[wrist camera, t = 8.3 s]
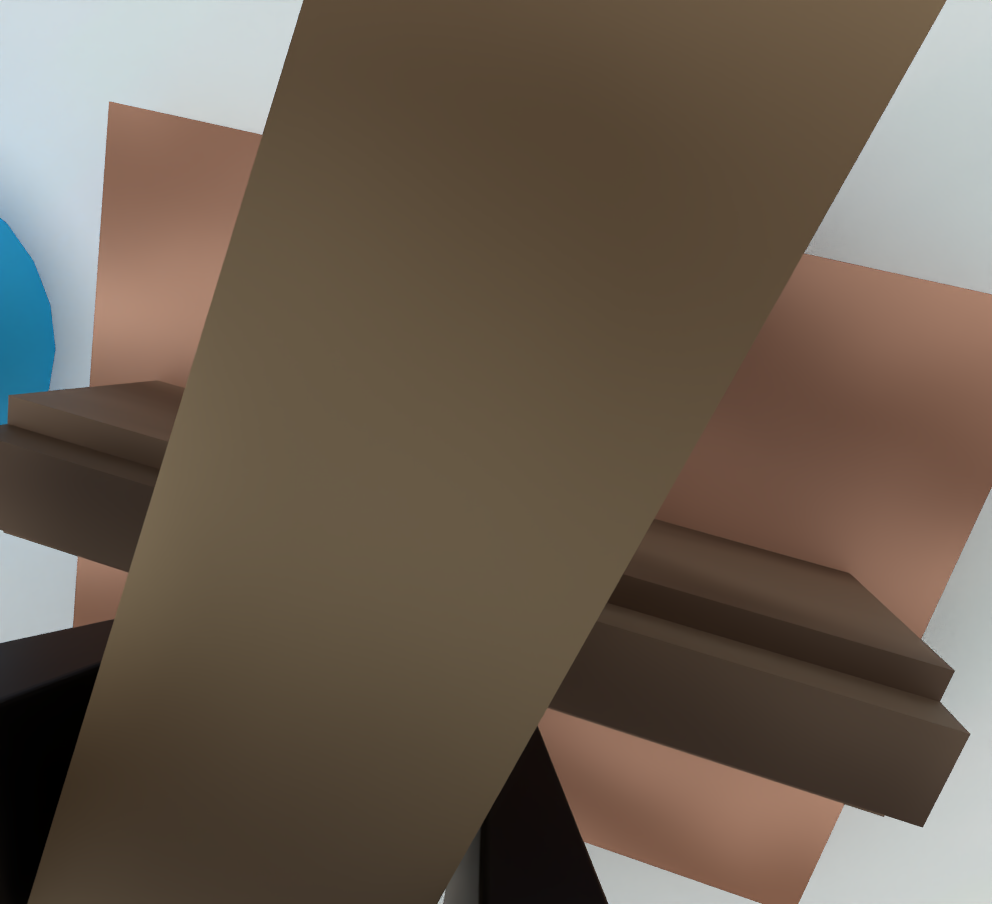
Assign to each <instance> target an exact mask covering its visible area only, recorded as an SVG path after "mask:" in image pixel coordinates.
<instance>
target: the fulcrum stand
mask: <svg viewBox="0 0 992 904" xmlns="http://www.w3.org/2000/svg"><path fill="white" fill-rule="evenodd" d="M261 138H262V135H260V134H256V133H251V132H246V131H242V130H237V129H233V128H228V127H224V126H219V125H215V124H210V123H205V122H201V121H196V120H192V119H187V118H183V117H178V116H173V115H169V114H164V113H160V112H155V111H151V110H146V109H141V108H137V107H132V106H128V105H123V104H119V103H114V102H109V111H108V126H107V140H106V155H105V169H104V184H103V198H102V213H101V227H100V242H99V257H98V271H97V286H96V300H95V315H94V329H93V344H92V358H91V373H90V387H85V388H75V389H65V390H55V391H45V392H35V393H25V394H15V395H8V421H7V424H3V425H0V530H3V531H4V533H7V534H10V535H14V536H17V537H20V538H23V539H26V540H29V541H32V542H35V543H38V544H41V545H44V546H48V547H51V548H54V549H57V550H60V551H63V552H66V553H69V554H72V555H75V556H78V562H77V576H76V591H75V605H74V620H73V628H74V627H79V626H83V625H88V624H93V623H97V622H102V621H107V620H111V619H115V615H116V612H117V609H118V606H119V602H120V599H121V596H122V593H123V589H124V586H125V583H126V579H127V576H128V573H129V570H130V566H131V563H132V560H133V557H134V553H135V550H136V547H137V543H138V540H139V537H140V534H141V530H142V527H143V524H144V521H145V517H146V514H147V511H148V507H149V504H150V501H151V498H152V494H153V491H154V488H155V485H156V481H157V478H158V475H159V471H160V468H161V465H162V462H163V458H164V455H165V452H166V449H167V445H168V442H169V439H170V436H171V432H172V429H173V426H174V422H175V419H176V416H177V413H178V409H179V406H180V403H181V400H182V396H183V393H184V390H185V386H186V383H187V380H188V377H189V373H190V370H191V367H192V364H193V360H194V357H195V354H196V350H197V347H198V344H199V341H200V337H201V334H202V331H203V328H204V324H205V321H206V318H207V314H208V311H209V308H210V305H211V301H212V298H213V295H214V292H215V288H216V285H217V282H218V278H219V275H220V272H221V269H222V265H223V262H224V259H225V256H226V252H227V249H228V246H229V242H230V239H231V236H232V233H233V229H234V226H235V223H236V220H237V216H238V213H239V210H240V206H241V203H242V200H243V197H244V193H245V190H246V187H247V184H248V180H249V177H250V174H251V170H252V167H253V164H254V161H255V157H256V154H257V151H258V148H259V144H260V141H261ZM991 487H992V295H991V294H987V293H982V292H978V291H973V290H969V289H964V288H959V287H955V286H950V285H946V284H941V283H937V282H932V281H927V280H923V279H918V278H914V277H909V276H905V275H900V274H895V273H891V272H886V271H882V270H877V269H873V268H868V267H863V266H859V265H854V264H850V263H845V262H841V261H836V260H831V259H827V258H822V257H818V256H813V255H809V254H803V256H802V257H801V259H800V261H799V263H798V264H797V266H796V268H795V270H794V272H793V273H792V275H791V277H790V279H789V280H788V282H787V284H786V286H785V288H784V289H783V291H782V293H781V295H780V296H779V298H778V300H777V302H776V303H775V305H774V307H773V309H772V311H771V312H770V314H769V316H768V318H767V319H766V321H765V323H764V325H763V327H762V328H761V330H760V332H759V334H758V335H757V337H756V339H755V341H754V343H753V344H752V346H751V348H750V350H749V351H748V353H747V355H746V357H745V358H744V360H743V362H742V364H741V366H740V367H739V369H738V371H737V373H736V374H735V376H734V378H733V380H732V382H731V383H730V385H729V387H728V389H727V390H726V392H725V394H724V396H723V397H722V399H721V401H720V403H719V405H718V406H717V408H716V410H715V412H714V413H713V415H712V417H711V419H710V421H709V422H708V424H707V426H706V428H705V429H704V431H703V433H702V435H701V437H700V438H699V440H698V442H697V444H696V445H695V447H694V449H693V451H692V452H691V454H690V456H689V458H688V460H687V461H686V463H685V465H684V467H683V468H682V470H681V472H680V474H679V476H678V477H677V479H676V481H675V483H674V484H673V486H672V488H671V490H670V491H669V493H668V495H667V497H666V499H665V500H664V502H663V504H662V506H661V507H660V509H659V511H658V513H657V515H656V516H655V518H654V520H653V522H652V523H651V525H650V527H649V529H648V530H647V532H646V534H645V536H644V538H643V539H642V541H641V543H640V545H639V546H638V548H637V550H636V552H635V554H634V555H633V557H632V559H631V561H630V562H629V564H628V566H627V568H626V570H625V571H624V573H623V575H622V577H621V578H620V580H619V582H618V584H617V585H616V587H615V589H614V591H613V593H612V594H611V596H610V598H609V600H608V601H607V603H606V605H605V607H604V609H603V610H602V612H601V614H600V616H599V617H598V619H597V621H596V623H595V624H594V626H593V628H592V630H591V632H590V633H589V635H588V637H587V639H586V640H585V642H584V644H583V646H582V648H581V649H580V651H579V653H578V655H577V656H576V658H575V660H574V662H573V664H572V665H571V667H570V669H569V671H568V672H567V674H566V676H565V678H564V679H563V681H562V683H561V685H560V687H559V688H558V690H557V692H556V694H555V695H554V697H553V699H552V701H551V703H550V704H549V706H548V708H547V710H546V711H545V713H544V715H543V717H542V718H541V720H540V722H539V724H538V728H539V730H540V733H541V736H542V738H543V741H544V743H545V746H546V748H547V751H548V753H549V756H550V758H551V761H552V763H553V766H554V768H555V771H556V773H557V776H558V778H559V781H560V783H561V786H562V788H563V791H564V793H565V796H566V799H567V801H568V804H569V806H570V809H571V811H572V814H573V816H574V819H575V821H576V824H577V826H578V829H579V831H580V834H581V836H582V839H583V841H584V842H586V843H589V844H592V845H595V846H598V847H601V848H604V849H606V850H609V851H612V852H615V853H618V854H621V855H624V856H627V857H629V858H632V859H635V860H638V861H641V862H644V863H647V864H650V865H652V866H655V867H658V868H661V869H664V870H667V871H670V872H673V873H675V874H678V875H681V876H684V877H687V878H690V879H693V880H696V881H698V882H701V883H704V884H707V885H710V886H713V887H716V888H719V889H721V890H724V891H727V892H730V893H733V894H736V895H739V896H742V897H744V898H747V899H750V900H753V901H756V902H759V903H762V904H798V903H799V901H800V899H801V897H802V894H803V892H804V890H805V888H806V886H807V884H808V882H809V879H810V877H811V875H812V873H813V871H814V869H815V866H816V864H817V862H818V860H819V858H820V856H821V854H822V851H823V849H824V847H825V845H826V843H827V841H828V838H829V836H830V834H831V832H832V830H833V828H834V826H835V823H836V821H837V819H838V817H839V815H840V813H841V810H842V808H843V806H844V804H846V805H849V806H852V807H855V808H858V809H861V810H864V811H867V812H871V813H874V814H877V815H880V816H883V817H884V815H886V816H889V817H892V818H895V819H898V820H901V821H904V822H907V823H910V824H913V825H917V826H920V827H923V826H924V824H925V822H926V820H927V818H928V816H929V814H930V812H931V810H932V808H933V806H934V804H935V802H936V800H937V798H938V796H939V794H940V792H941V791H942V789H943V787H944V785H945V783H946V781H947V779H948V777H949V775H950V773H951V771H952V769H953V767H954V765H955V763H956V761H957V759H958V757H959V755H960V753H961V751H962V749H963V747H964V745H965V743H966V741H967V740H968V738H969V736H970V733H969V732H968V731H967V730H966V729H965V728H964V727H963V726H962V725H961V724H960V723H959V722H958V721H957V719H956V718H955V717H954V716H953V715H952V714H951V713H950V712H949V711H948V710H947V709H946V708H945V707H944V706H943V705H942V704H941V703H940V700H941V698H942V696H943V694H944V692H945V690H946V688H947V686H948V684H949V682H950V680H951V678H952V676H953V673H954V670H953V669H952V668H951V667H950V666H949V665H948V664H947V663H946V662H945V661H944V660H943V659H942V658H940V657H939V656H938V655H937V654H936V653H935V652H934V651H933V650H932V649H931V648H930V647H929V646H928V645H926V644H925V643H924V642H923V641H922V640H921V638H922V636H923V634H924V632H925V629H926V627H927V625H928V623H929V621H930V619H931V617H932V614H933V612H934V610H935V608H936V606H937V604H938V601H939V599H940V597H941V595H942V593H943V591H944V589H945V586H946V584H947V582H948V580H949V578H950V576H951V573H952V571H953V569H954V567H955V565H956V563H957V561H958V558H959V556H960V554H961V552H962V550H963V548H964V545H965V543H966V541H967V539H968V537H969V535H970V533H971V530H972V528H973V526H974V524H975V522H976V520H977V517H978V515H979V513H980V511H981V509H982V507H983V505H984V502H985V500H986V498H987V496H988V494H989V492H990V489H991Z"/></svg>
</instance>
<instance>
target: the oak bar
mask: <svg viewBox="0 0 992 904" xmlns="http://www.w3.org/2000/svg"><path fill="white" fill-rule="evenodd" d="M945 2H946V0H303V4H302V7H301V10H300V13H299V17H298V20H297V23H296V27H295V30H294V33H293V36H292V40H291V43H290V46H289V49H288V53H287V56H286V59H285V63H284V66H283V69H282V72H281V76H280V79H279V82H278V85H277V89H276V92H275V95H274V99H273V102H272V105H271V108H270V112H269V115H268V118H267V121H266V125H265V128H264V131H263V135H262V138H261V141H260V144H259V148H258V151H257V154H256V157H255V161H254V164H253V167H252V170H251V174H250V177H249V180H248V184H247V187H246V190H245V193H244V197H243V200H242V203H241V206H240V210H239V213H238V216H237V220H236V223H235V226H234V229H233V233H232V236H231V239H230V242H229V246H228V249H227V252H226V256H225V259H224V262H223V265H222V269H221V272H220V275H219V278H218V282H217V285H216V288H215V292H214V295H213V298H212V301H211V305H210V308H209V311H208V314H207V318H206V321H205V324H204V328H203V331H202V334H201V337H200V341H199V344H198V347H197V350H196V354H195V357H194V360H193V364H192V367H191V370H190V373H189V377H188V380H187V383H186V386H185V390H184V393H183V396H182V400H181V403H180V406H179V409H178V413H177V416H176V419H175V422H174V426H173V429H172V432H171V436H170V439H169V442H168V445H167V449H166V452H165V455H164V458H163V462H162V465H161V468H160V471H159V475H158V478H157V481H156V485H155V488H154V491H153V494H152V498H151V501H150V504H149V507H148V511H147V514H146V517H145V521H144V524H143V527H142V530H141V534H140V537H139V540H138V543H137V547H136V550H135V553H134V557H133V560H132V563H131V566H130V570H129V573H128V576H127V579H126V583H125V586H124V589H123V593H122V596H121V599H120V602H119V606H118V609H117V612H116V615H115V619H114V622H113V625H112V629H111V632H110V635H109V638H108V642H107V645H106V648H105V651H104V655H103V658H102V661H101V665H100V668H99V671H98V674H97V678H96V681H95V684H94V687H93V691H92V694H91V697H90V701H89V704H88V707H87V710H86V714H85V717H84V720H83V723H82V727H81V730H80V733H79V737H78V740H77V743H76V746H75V750H74V753H73V756H72V759H71V763H70V766H69V769H68V772H67V776H66V779H65V782H64V786H63V789H62V792H61V795H60V799H59V802H58V805H57V808H56V812H55V815H54V818H53V822H52V825H51V828H50V831H49V835H48V838H47V841H46V844H45V848H44V851H43V854H42V858H41V861H40V864H39V867H38V871H37V874H36V877H35V880H34V884H33V887H32V890H31V894H30V897H29V900H28V903H27V904H437V903H438V901H439V899H440V898H441V896H442V894H443V892H444V891H445V889H446V887H447V885H448V883H449V882H450V880H451V878H452V876H453V875H454V873H455V871H456V869H457V867H458V866H459V864H460V862H461V860H462V859H463V857H464V855H465V853H466V851H467V850H468V848H469V846H470V844H471V843H472V841H473V839H474V837H475V836H476V834H477V832H478V830H479V828H480V827H481V825H482V823H483V821H484V820H485V818H486V816H487V814H488V812H489V811H490V809H491V807H492V805H493V804H494V802H495V800H496V798H497V797H498V795H499V793H500V791H501V789H502V788H503V786H504V784H505V782H506V781H507V779H508V777H509V775H510V773H511V772H512V770H513V768H514V766H515V765H516V763H517V761H518V759H519V757H520V756H521V754H522V752H523V750H524V749H525V747H526V745H527V743H528V742H529V740H530V738H531V736H532V734H533V733H534V731H535V729H536V727H537V726H538V724H539V722H540V720H541V718H542V717H543V715H544V713H545V711H546V710H547V708H548V706H549V704H550V703H551V701H552V699H553V697H554V695H555V694H556V692H557V690H558V688H559V687H560V685H561V683H562V681H563V679H564V678H565V676H566V674H567V672H568V671H569V669H570V667H571V665H572V664H573V662H574V660H575V658H576V656H577V655H578V653H579V651H580V649H581V648H582V646H583V644H584V642H585V640H586V639H587V637H588V635H589V633H590V632H591V630H592V628H593V626H594V624H595V623H596V621H597V619H598V617H599V616H600V614H601V612H602V610H603V609H604V607H605V605H606V603H607V601H608V600H609V598H610V596H611V594H612V593H613V591H614V589H615V587H616V585H617V584H618V582H619V580H620V578H621V577H622V575H623V573H624V571H625V570H626V568H627V566H628V564H629V562H630V561H631V559H632V557H633V555H634V554H635V552H636V550H637V548H638V546H639V545H640V543H641V541H642V539H643V538H644V536H645V534H646V532H647V530H648V529H649V527H650V525H651V523H652V522H653V520H654V518H655V516H656V515H657V513H658V511H659V509H660V507H661V506H662V504H663V502H664V500H665V499H666V497H667V495H668V493H669V491H670V490H671V488H672V486H673V484H674V483H675V481H676V479H677V477H678V476H679V474H680V472H681V470H682V468H683V467H684V465H685V463H686V461H687V460H688V458H689V456H690V454H691V452H692V451H693V449H694V447H695V445H696V444H697V442H698V440H699V438H700V437H701V435H702V433H703V431H704V429H705V428H706V426H707V424H708V422H709V421H710V419H711V417H712V415H713V413H714V412H715V410H716V408H717V406H718V405H719V403H720V401H721V399H722V397H723V396H724V394H725V392H726V390H727V389H728V387H729V385H730V383H731V382H732V380H733V378H734V376H735V374H736V373H737V371H738V369H739V367H740V366H741V364H742V362H743V360H744V358H745V357H746V355H747V353H748V351H749V350H750V348H751V346H752V344H753V343H754V341H755V339H756V337H757V335H758V334H759V332H760V330H761V328H762V327H763V325H764V323H765V321H766V319H767V318H768V316H769V314H770V312H771V311H772V309H773V307H774V305H775V303H776V302H777V300H778V298H779V296H780V295H781V293H782V291H783V289H784V288H785V286H786V284H787V282H788V280H789V279H790V277H791V275H792V273H793V272H794V270H795V268H796V266H797V264H798V263H799V261H800V259H801V257H802V256H803V254H804V252H805V250H806V249H807V247H808V245H809V243H810V241H811V240H812V238H813V236H814V234H815V233H816V231H817V229H818V227H819V225H820V224H821V222H822V220H823V218H824V217H825V215H826V213H827V211H828V209H829V208H830V206H831V204H832V202H833V201H834V199H835V197H836V195H837V194H838V192H839V190H840V188H841V186H842V185H843V183H844V181H845V179H846V178H847V176H848V174H849V172H850V170H851V169H852V167H853V165H854V163H855V162H856V160H857V158H858V156H859V155H860V153H861V151H862V149H863V147H864V146H865V144H866V142H867V140H868V139H869V137H870V135H871V133H872V131H873V130H874V128H875V126H876V124H877V123H878V121H879V119H880V117H881V116H882V114H883V112H884V110H885V108H886V107H887V105H888V103H889V101H890V100H891V98H892V96H893V94H894V92H895V91H896V89H897V87H898V85H899V84H900V82H901V80H902V78H903V76H904V75H905V73H906V71H907V69H908V68H909V66H910V64H911V62H912V61H913V59H914V57H915V55H916V53H917V52H918V50H919V48H920V46H921V45H922V43H923V41H924V39H925V37H926V36H927V34H928V32H929V30H930V29H931V27H932V25H933V23H934V22H935V20H936V18H937V16H938V14H939V13H940V11H941V9H942V7H943V6H944V4H945Z"/></svg>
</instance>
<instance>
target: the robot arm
mask: <svg viewBox="0 0 992 904" xmlns="http://www.w3.org/2000/svg"><path fill="white" fill-rule="evenodd" d="M113 622H114V619H111V620H107V621H102V622H97V623H93V624H88V625H83V626H79V627H74V628H69V629H65V630H60V631H55V632H51V633H46V634H41V635H37V636H32V637H27V638H23V639H18V640H13V641H8V642H4V643H0V904H27V903H28V900H29V897H30V894H31V890H32V887H33V884H34V880H35V877H36V874H37V871H38V867H39V864H40V861H41V858H42V854H43V851H44V848H45V844H46V841H47V838H48V835H49V831H50V828H51V825H52V822H53V818H54V815H55V812H56V808H57V805H58V802H59V799H60V795H61V792H62V789H63V786H64V782H65V779H66V776H67V772H68V769H69V766H70V763H71V759H72V756H73V753H74V750H75V746H76V743H77V740H78V737H79V733H80V730H81V727H82V723H83V720H84V717H85V714H86V710H87V707H88V704H89V701H90V697H91V694H92V691H93V687H94V684H95V681H96V678H97V674H98V671H99V668H100V665H101V661H102V658H103V655H104V651H105V648H106V645H107V642H108V638H109V635H110V632H111V629H112V625H113ZM443 904H608V902H607V899H606V897H605V894H604V892H603V889H602V887H601V884H600V882H599V879H598V877H597V874H596V872H595V869H594V867H593V864H592V861H591V859H590V856H589V854H588V851H587V849H586V846H585V844H584V841H583V839H582V836H581V834H580V831H579V829H578V826H577V824H576V821H575V819H574V816H573V814H572V811H571V809H570V806H569V804H568V801H567V799H566V796H565V793H564V791H563V788H562V786H561V783H560V781H559V778H558V776H557V773H556V771H555V768H554V766H553V763H552V761H551V758H550V756H549V753H548V751H547V748H546V746H545V743H544V741H543V738H542V736H541V733H540V730H539V728H538V726H537V727H536V729H535V731H534V733H533V734H532V736H531V738H530V740H529V742H528V743H527V745H526V747H525V749H524V750H523V752H522V754H521V756H520V757H519V759H518V761H517V763H516V765H515V766H514V768H513V770H512V772H511V773H510V775H509V777H508V779H507V781H506V782H505V784H504V786H503V788H502V789H501V791H500V793H499V795H498V797H497V798H496V800H495V802H494V804H493V805H492V807H491V809H490V811H489V812H488V814H487V816H486V818H485V820H484V821H483V823H482V825H481V827H480V828H479V830H478V832H477V834H476V836H475V837H474V839H473V841H472V843H471V844H470V846H469V848H468V850H467V851H466V853H465V855H464V857H463V859H462V860H461V862H460V864H459V866H458V867H457V869H456V871H455V873H454V875H453V876H452V878H451V880H450V882H449V883H448V885H447V887H446V891H445V897H444V903H443Z"/></svg>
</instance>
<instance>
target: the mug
mask: <svg viewBox="0 0 992 904" xmlns="http://www.w3.org/2000/svg"><path fill="white" fill-rule="evenodd" d="M54 355H55V341H54V332H53V324H52V315H51V306H50V303H49V300H48V298H47V295H46V292H45V290H44V287H43V285H42V282H41V279H40V277H39V274H38V271H37V269H36V266H35V264H34V261H33V260H32V258H31V257H30V256H29V254H28V253H27V251H26V250H25V248H24V247H23V246H22V244H21V243H20V241H19V240H18V239H17V237H16V236H15V234H14V233H13V231H12V230H11V229H10V227H9V226H8V224H7V223H6V222H5V221H3V220H2V219H1V218H0V425H3V424H7V421H8V395H15V394H25V393H35V392H45V391H48V390H49V385H50V379H51V373H52V367H53V361H54Z"/></svg>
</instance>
